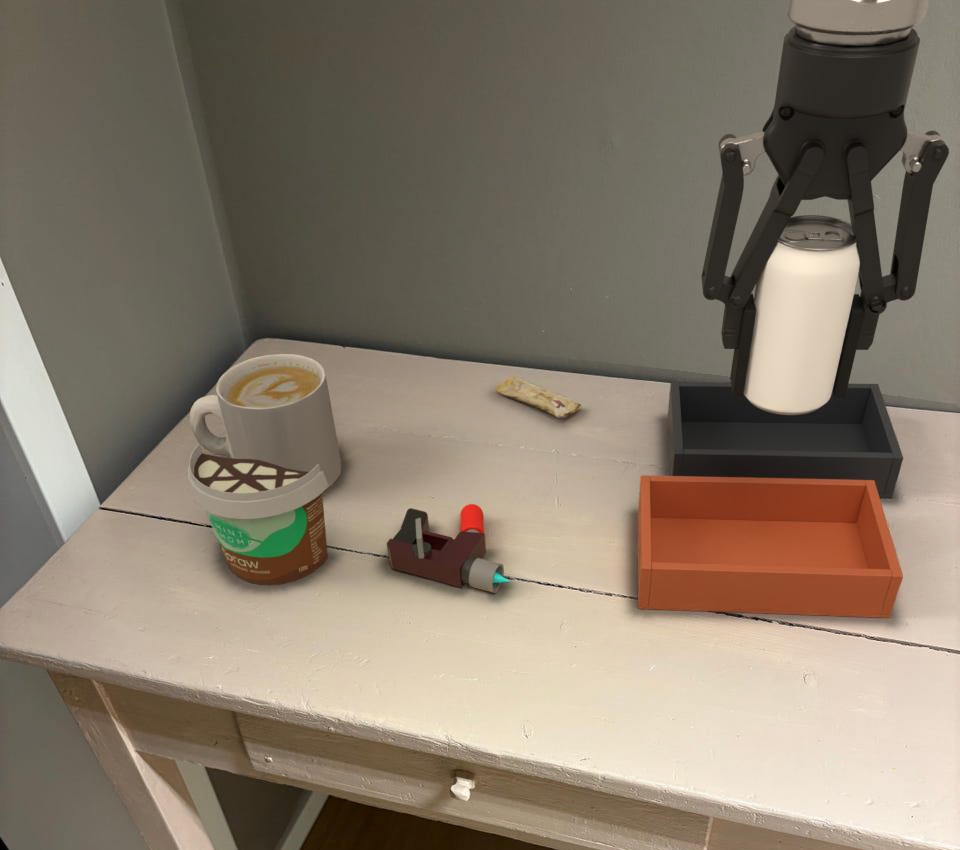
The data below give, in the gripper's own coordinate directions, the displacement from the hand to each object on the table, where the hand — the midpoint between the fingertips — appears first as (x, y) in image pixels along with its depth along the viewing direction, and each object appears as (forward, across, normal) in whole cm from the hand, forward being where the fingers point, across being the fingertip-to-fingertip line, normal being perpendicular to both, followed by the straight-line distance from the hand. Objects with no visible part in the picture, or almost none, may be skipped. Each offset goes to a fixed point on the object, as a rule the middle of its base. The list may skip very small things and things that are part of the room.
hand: (786, 386), depth 73 cm
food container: (+17, -42, -4) cm, 45 cm away
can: (+1, 0, 0) cm, 1 cm away
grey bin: (+16, +3, +15) cm, 23 cm away
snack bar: (+16, -20, +24) cm, 36 cm away
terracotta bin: (+16, 0, -1) cm, 16 cm away
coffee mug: (+17, -45, +11) cm, 49 cm away
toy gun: (+16, -25, -1) cm, 30 cm away
